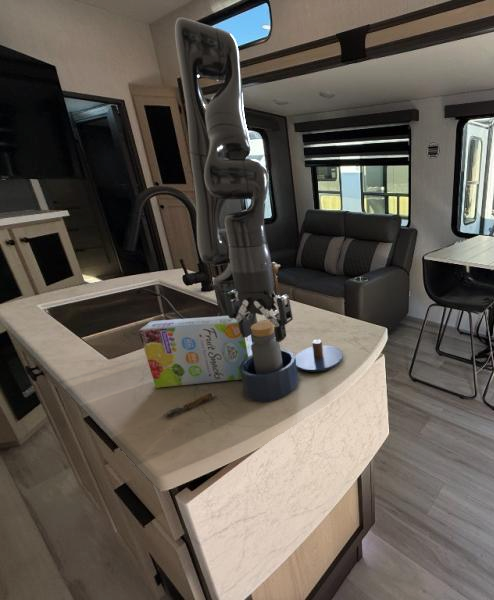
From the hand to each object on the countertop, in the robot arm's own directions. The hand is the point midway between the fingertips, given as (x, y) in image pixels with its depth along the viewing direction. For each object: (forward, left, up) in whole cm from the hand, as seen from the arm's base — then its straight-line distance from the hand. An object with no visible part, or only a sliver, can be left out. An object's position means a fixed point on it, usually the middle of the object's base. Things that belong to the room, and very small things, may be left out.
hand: (263, 338), depth 70 cm
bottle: (0, 0, -12) cm, 12 cm away
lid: (+5, +13, -12) cm, 18 cm away
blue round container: (0, 0, -13) cm, 13 cm away
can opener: (-12, -11, -13) cm, 21 cm away
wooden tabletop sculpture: (-22, +36, -13) cm, 44 cm away
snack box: (-17, -1, -13) cm, 21 cm away
